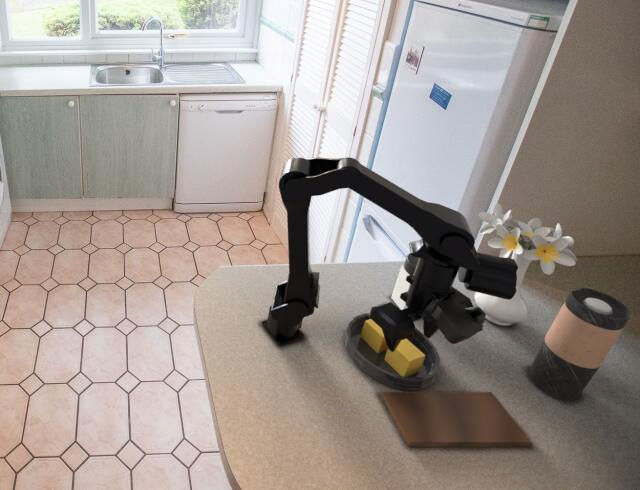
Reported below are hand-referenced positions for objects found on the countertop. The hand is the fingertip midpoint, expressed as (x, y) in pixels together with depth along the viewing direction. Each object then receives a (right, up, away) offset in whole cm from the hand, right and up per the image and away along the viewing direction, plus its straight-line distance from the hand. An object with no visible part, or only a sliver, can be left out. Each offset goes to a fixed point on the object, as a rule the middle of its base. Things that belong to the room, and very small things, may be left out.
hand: (409, 343), depth 85 cm
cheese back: (-2, -3, +8) cm, 8 cm away
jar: (+12, +1, +18) cm, 22 cm away
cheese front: (0, -5, +2) cm, 6 cm away
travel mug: (+27, -8, 0) cm, 28 cm away
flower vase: (+28, 0, +15) cm, 32 cm away
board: (+3, -10, -7) cm, 13 cm away
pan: (-1, -5, +5) cm, 7 cm away
